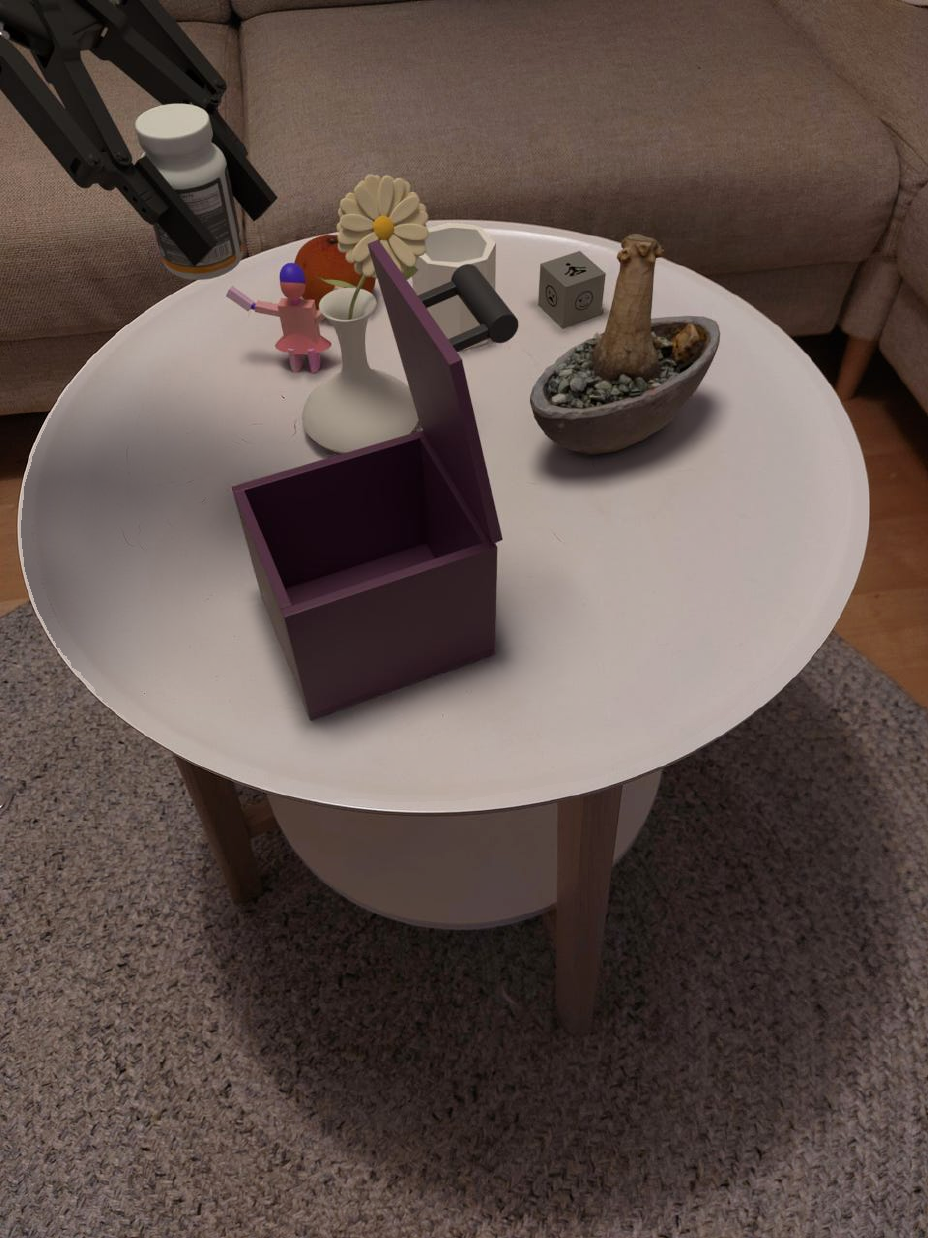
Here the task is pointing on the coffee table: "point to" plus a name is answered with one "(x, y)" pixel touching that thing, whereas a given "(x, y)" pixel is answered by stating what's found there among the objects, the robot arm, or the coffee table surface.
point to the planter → (625, 366)
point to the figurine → (292, 318)
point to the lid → (446, 370)
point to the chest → (370, 571)
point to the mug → (439, 263)
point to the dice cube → (571, 289)
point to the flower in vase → (360, 396)
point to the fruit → (327, 268)
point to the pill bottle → (193, 185)
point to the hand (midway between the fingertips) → (236, 230)
